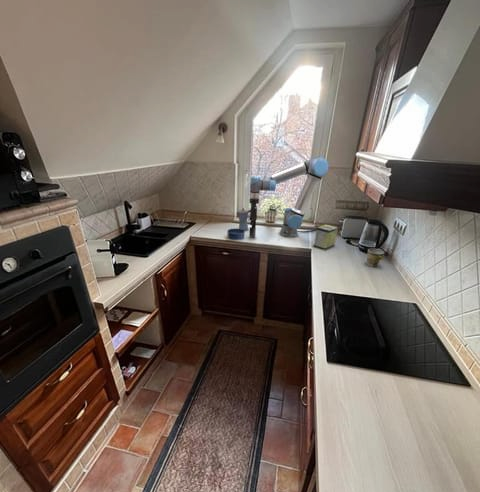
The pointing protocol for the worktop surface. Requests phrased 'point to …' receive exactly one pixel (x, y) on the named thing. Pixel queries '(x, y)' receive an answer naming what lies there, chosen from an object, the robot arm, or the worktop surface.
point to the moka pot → (243, 219)
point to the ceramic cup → (374, 257)
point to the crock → (252, 232)
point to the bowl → (235, 234)
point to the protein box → (325, 236)
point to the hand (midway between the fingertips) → (252, 226)
